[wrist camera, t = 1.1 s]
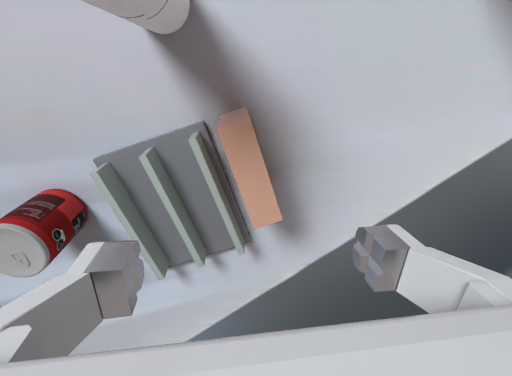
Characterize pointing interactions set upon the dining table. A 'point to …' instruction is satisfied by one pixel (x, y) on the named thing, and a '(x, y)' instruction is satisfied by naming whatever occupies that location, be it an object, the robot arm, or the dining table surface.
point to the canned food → (39, 231)
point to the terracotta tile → (248, 167)
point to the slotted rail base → (173, 198)
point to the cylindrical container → (148, 12)
